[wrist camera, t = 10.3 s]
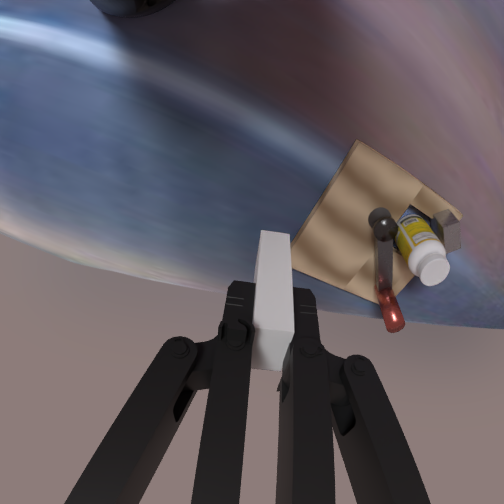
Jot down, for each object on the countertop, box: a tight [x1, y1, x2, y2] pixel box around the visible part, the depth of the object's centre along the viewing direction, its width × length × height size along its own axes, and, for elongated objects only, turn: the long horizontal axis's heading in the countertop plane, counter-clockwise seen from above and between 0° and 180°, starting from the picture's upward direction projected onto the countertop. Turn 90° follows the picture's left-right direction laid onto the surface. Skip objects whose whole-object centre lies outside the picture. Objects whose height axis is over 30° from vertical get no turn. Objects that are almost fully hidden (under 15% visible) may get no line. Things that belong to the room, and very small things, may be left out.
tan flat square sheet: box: [290, 139, 463, 304], centre depth 45 cm, size 22×22×2 cm
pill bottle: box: [394, 214, 450, 286], centre depth 40 cm, size 6×6×11 cm
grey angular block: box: [430, 209, 461, 254], centre depth 41 cm, size 5×3×6 cm, turn 25°
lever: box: [373, 217, 405, 333], centre depth 41 cm, size 16×4×9 cm, turn 16°
